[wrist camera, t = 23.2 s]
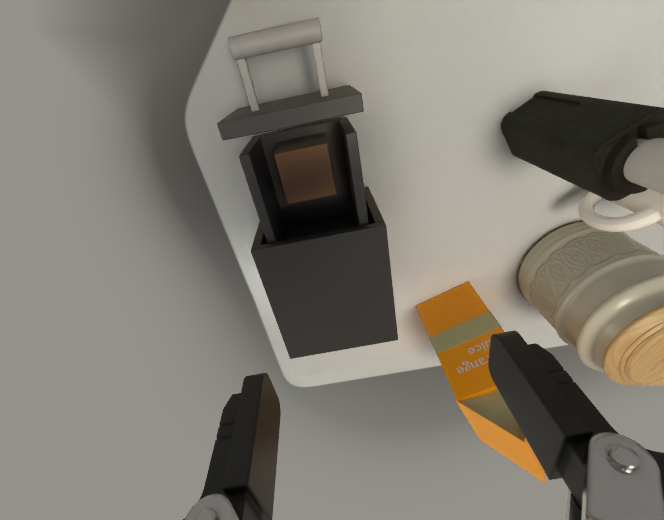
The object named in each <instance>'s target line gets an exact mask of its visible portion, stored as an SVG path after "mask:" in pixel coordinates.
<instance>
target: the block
mask: <svg viewBox="0 0 664 520" xmlns="http://www.w3.org/2000/svg"><path fill="white" fill-rule="evenodd" d="M274 158H275V161H276V165H277V169H278V172H279V176H280V179H281V183H282V187H283V190H284V194H285V197H286V201H287V204H292V203H297V202H302V201H307V200H312V199H317V198H322V197H327V196H332V195H337V191H336V185H335V180H334V175H333V169H332V164H331V159H330V154H329V148H328V143H327V138H326V134H325V132H324V133H319V134H314V135H310V136H305V137H300V138H295V139H291V140H286V141H281V142H278V144H277V147H276V149H275V152H274Z"/></svg>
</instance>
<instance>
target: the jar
mask: <svg viewBox="0 0 664 520" xmlns="http://www.w3.org/2000/svg"><path fill="white" fill-rule="evenodd" d="M518 280H519V286H520V289H521V291H522V292H523V295H524V297H525V298H526V300H527V301H528V302H529V303H530V304H531V306H532V307H534V308H535V309H536V310H538V311H539V312H540V313H541V314H542V315H543V316H544V318H545V319H546V320H547V321H548V322H549V323H550V324H551V325H552V326H553V327H554V329H555V330H556V331H557V333H558V335H559V337H560V338H561V339H562V340H563V341H564V342H565V343H567V344H569V345H571V346H573V347H576V350H577V353H578V356H579V358H580V360H581V361H582V362H583V363H584V364H585V365H586V366H588V367H590V368H592V369H594V370H597V371H602V372H605V374H606V375H607V376H608V377H609V378H610V379H611V380H613V381H615V382H617V383H619V384H623V385H632V386H639V385H646V386H658V385H664V255H660V254H658V253H656V252H654V251H653V250H651V249H649V248H647V247H646V246H644V245H642V244H640V243H638V242H637V241H635V240H633V239H631V238H630V237H629V236H628V235H627V234H626V233H624V232H609V231H603V230H599V229H596V228H593V227H591V226H589V225H587V224H586V223H585V222H577V223H573V224H569V225H566V226H564V227H561V228H559V229H557V230H555V231H553V232H552V233H550V234H548V235H547V236H546V237H544V238H543V239H542V240H540V241H539V242H538V243H537V244H536V245H535V246H534V247H533V248H532V249H531V250H530V252H529V253H528V254H527V256H526V257H525V259H524V261H523V263H522V265H521V267H520V271H519V277H518Z"/></svg>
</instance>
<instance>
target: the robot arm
mask: <svg viewBox="0 0 664 520" xmlns="http://www.w3.org/2000/svg"><path fill="white" fill-rule="evenodd" d="M488 367H489V372H490V375H491V378H492V380H493V382H494V383H495V385H496V387H497V389H498V390H499V392H500V394H501V396H502V397H503V399H504V401H505V403H506V405H507V406H508V408H509V410H510V412H511V413H512V415H513V417H514V419H515V420H516V422H517V424H518V426H519V427H520V429H521V431H522V433H523V434H524V436H525V438H526V440H527V441H528V443H529V445H530V447H531V448H532V450H533V452H534V454H535V455H536V457H537V459H538V461H539V462H540V464H541V466H542V468H543V469H544V471H545V473H546V475H547V476H548V478H549V480H552V479H558V478H563V479H564V481H565V483H566V485H567V486H568V488H569V492H568V501H567V514H566V520H664V453H660V452H655V451H651V450H648V449H645V448H644V447H642V446H641V445H640V444H638V443H637V442H635V441H634V440H632V439H630V438H628V437H626V436H623V435H620V434H619V433H617V432H616V431H615V430H614V429H613V428H612V427H611V426H610V424H609V423H608V422H607V421H606V420H605V418H604V417H603V416H602V415H601V414H600V412H599V411H598V410H597V409H596V407H595V406H594V405H593V404H592V403H591V401H590V400H589V399H588V398H587V396H586V395H585V394H584V393H583V392H582V390H581V389H580V388H579V387H578V385H577V384H576V383H575V382H573V381H572V378H571V377H570V376H569V374H568V373H567V372H566V371H564V370H563V367H562V366H561V365H560V363H559V362H558V361H557V360H556V359H555V357H554V356H553V355H552V354H551V353H549V352H548V351H546V350H545V349H543V348H542V347H541V346H539V345H538V344H530V345H527V343H526V342H525V341H524V339H523V338H522V337H521V335H520V334H519V333H518V332H516V331H509V332H503V333H498V334H493V335H492V336H491V340H490V350H489V359H488ZM279 427H280V403H279V399H278V396H277V394H276V392H275V389H274V387H273V385H272V382H271V380H270V378H269V376H268V374H267V373H262V374H257V375H251V376H246V377H245V378H244V382H243V387H242V392H241V393H239V394H233V395H232V396H231V398H230V399H229V401H228V402H227V404H226V406H225V407H224V409H223V413H222V417H221V421H220V427H219V429H218V433H217V440H216V441H215V446H214V449H213V454H212V458H211V462H210V466H209V470H208V474H207V478H206V482H205V486H204V490H203V493H202V496H201V498H200V500H199V501H198V502H197V503H196V504H195V505H194V506H193V507H192V509H191V510H190V511H189V513H188V514H187V516H186V518H185V519H183V520H272V514H273V502H274V489H275V476H276V464H277V452H278V439H279Z"/></svg>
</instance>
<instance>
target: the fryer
mask: <svg viewBox="0 0 664 520" xmlns="http://www.w3.org/2000/svg"><path fill="white" fill-rule="evenodd" d="M364 193H365V200H366V207H367V215H368V222H369V224H368V225H363V226H358V227H352V228H347V229H342V230H337V231H332V232H326V233H321V234H316V235H311V236H306V237H300V238H295V239H290V240H285V241H279V242H274V243H269V244H268V243H267V240H266V237H265V234H264V231H263V228H262V225H261V222H259V226H258V229H257V232H256V236H255V239H254V242H253V246H252V249H251V253H252V256H253V258H254V261H255V264H256V266H257V269H258V272H259V275H260V277H261V280H262V283H263V286H264V288H265V291H266V294H267V296H268V299H269V302H270V305H271V307H272V310H273V313H274V316H275V318H276V321H277V324H278V326H279V329H280V332H281V335H282V337H283V340H284V343H285V346H286V348H287V351H288V354H289V356H290V359H292V358H297V357H303V356H309V355H315V354H320V353H326V352H332V351H337V350H343V349H349V348H355V347H360V346H366V345H372V344H377V343H383V342H389V341H395V340H398V335H397V325H396V316H395V306H394V297H393V287H392V278H391V268H390V259H389V249H388V240H387V230H386V224H385V222H384V220H383V218H382V216H381V213H380V211H379V209H378V207H377V205H376V203H375V200H374V198H373V196H372V194H371V192H370V190H369V187H365V188H364Z"/></svg>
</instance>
